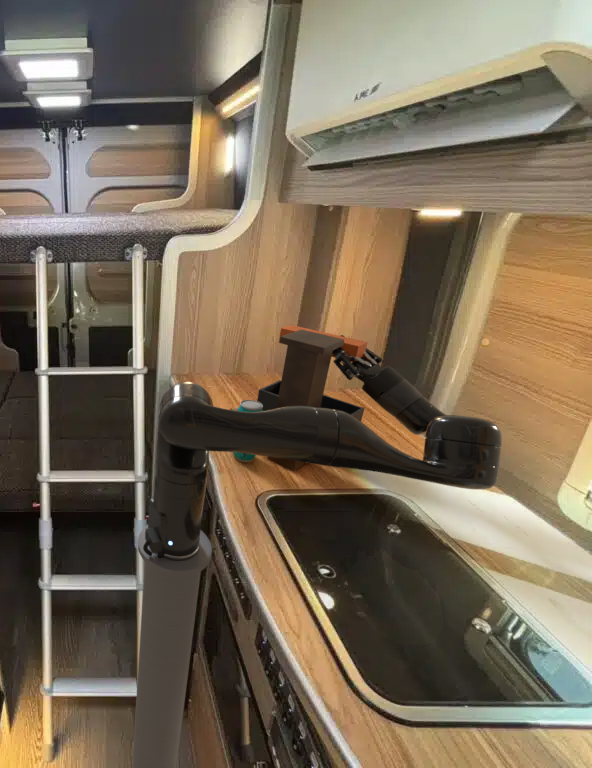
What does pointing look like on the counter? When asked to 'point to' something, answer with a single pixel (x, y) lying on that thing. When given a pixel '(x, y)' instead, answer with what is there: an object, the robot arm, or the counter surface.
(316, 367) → the pedestal
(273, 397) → the black storage bin
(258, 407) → the beverage can
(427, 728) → the counter surface
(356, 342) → the orange rectangular bar
